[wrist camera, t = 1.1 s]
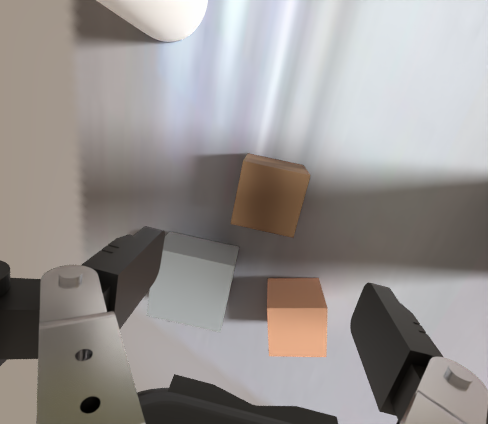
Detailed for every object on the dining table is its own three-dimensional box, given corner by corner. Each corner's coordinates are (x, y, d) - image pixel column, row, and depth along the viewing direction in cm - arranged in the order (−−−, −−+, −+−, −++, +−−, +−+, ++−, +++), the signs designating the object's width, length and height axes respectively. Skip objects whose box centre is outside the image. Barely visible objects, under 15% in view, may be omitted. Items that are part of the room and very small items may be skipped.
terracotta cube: (318, 277, 30) (327, 308, 25) (317, 320, 31) (326, 357, 26) (267, 278, 30) (266, 308, 25) (269, 320, 32) (269, 356, 27)
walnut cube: (303, 165, 26) (310, 175, 22) (289, 217, 28) (293, 237, 23) (247, 153, 26) (243, 160, 22) (237, 205, 28) (230, 223, 23)
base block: (239, 246, 29) (234, 266, 25) (226, 306, 31) (220, 332, 28) (169, 231, 29) (154, 248, 25) (161, 291, 31) (146, 315, 28)
